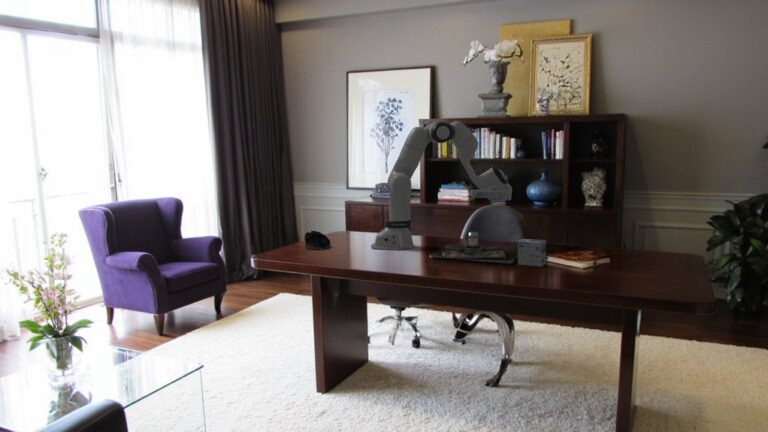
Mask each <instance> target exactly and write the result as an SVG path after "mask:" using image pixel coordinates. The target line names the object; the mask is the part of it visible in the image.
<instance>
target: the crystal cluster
mask: <svg viewBox="0 0 768 432" xmlns="http://www.w3.org/2000/svg"><path fill="white" fill-rule="evenodd" d="M304 243H305V244H304V245H305V248H306V249H307V250H310V251H313V250H315V251H322V250H325V249H327V248H330V247H331V240H330V239H329V238H328V236H326V235H325V233H322V232H320V231H316V230H311V231H310V232H309V231H307V232H306V233H305V235H304Z"/></svg>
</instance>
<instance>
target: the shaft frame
mask: <svg viewBox="0 0 768 432" xmlns="http://www.w3.org/2000/svg"><path fill="white" fill-rule="evenodd" d="M502 249H503V248H502V245H497V246H491V247H484V248H483V245H481V244H480V245H479V244H478V249H473V248H468V244H467V245H463V248H462V247H456V246H450V245H445V247H444V250H442V253H441V257H442V256H444V257H465V256H466V257H467V256H469V257H471V256H476V257H479V256H480V257H503V256H505V257H506V253H505V251H503V250H502Z"/></svg>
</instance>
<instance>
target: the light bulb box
mask: <svg viewBox="0 0 768 432" xmlns="http://www.w3.org/2000/svg"><path fill="white" fill-rule="evenodd" d="M546 246H547V241H546V239H531V238H530V239H529V238H528V239H527V238H521V239H519V240H518V241H517V264H518V265H519V266H520V265H521V266H530V267H544V266H545V265H546V264H547V263H546V262H547V261H546V259H547V253H546V251H547V247H546Z"/></svg>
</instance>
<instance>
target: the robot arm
mask: <svg viewBox="0 0 768 432" xmlns="http://www.w3.org/2000/svg"><path fill="white" fill-rule="evenodd" d="M449 141H450V142H451V143H452V144H453V145H454V147H455V148H456V149H457V152H458V153H457V160H458V164H459V165H460V167H461V168H462V171H463V173H464V175H465V176H466V177H467V180H468V182H469V184H470V187H471V190H470V197H471V198H478V199H479V198H481V199H488V200H489V201H490V202H493V203H496V202H501V201H511V200H512V193H513V187H512V186H511V184H510V183H508V178H507V175H506V173H505V172H504V170H503V169H502V168H499V167H498V166H493V167H492V166H491V168H489V169H487V170H486V171H484V172H483V173H481V174H479V175H477V174H476V172H475V170H474V169H473V167H472V166H471V162H470V161H471V159H472V158H473V156H475V154H476V153H477V150H478V147H479V142H478V139H477V138H476V136H475V135H474V134H473V132H472V131H471V130H470V129H469V127H468V126H466V125H465V124H464V123H463V122H462V121H460V120H454V121H453V122H450V123H447V122H445V121H440V120H435V121H434V120H433V121H430V122H428V123H427V124H426V125H424V126H423V127H421V126H415V127H413V128H412V129H411V130H410V132H409V134H408V135H407V137H406V139H405V141H404V143H403V146H402V148H401V150H400V153H399V155H398V158H397V159H396V160H395V163H394V165H393V167H392V168H391V170H390V171H391V172H390V173H389V176H388V178H387V186H388V189H389V199H388V201H389V202H388V215H389V216H388V217H389V219H386V220H385V227H384V228H383V229H382V230H380V232H378V233H377V234H376V236H375V240H374V243H372V244H371V245H370V248H371V249H372V250H388V251H389V250H393V251H400V250H406V249H410V248H411V249H412V248H414V247H415V244H414V241H413V235H412V234H413V233H412V228H413V225H412V224H413V223H412V219H411V201H412V197H411V196H412V178H413V176H414V174H415V172H416V170H417V169H418V167H419V165H420V162H421V160H422V157H423V154H424V153H425V150H426V148H427V146H428V145H429V143H434V144H445V143H447V142H449Z"/></svg>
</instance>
